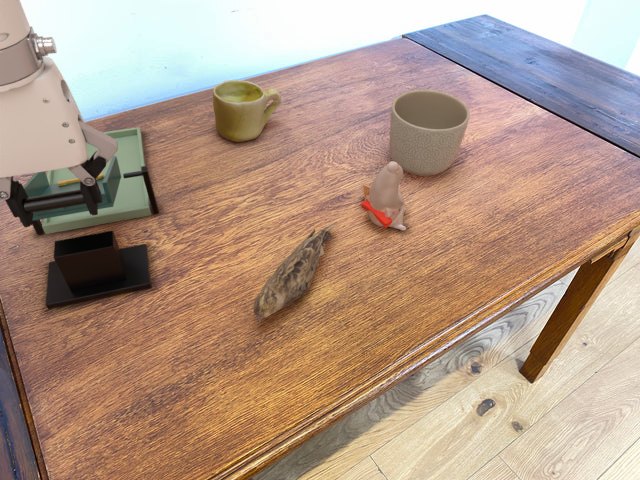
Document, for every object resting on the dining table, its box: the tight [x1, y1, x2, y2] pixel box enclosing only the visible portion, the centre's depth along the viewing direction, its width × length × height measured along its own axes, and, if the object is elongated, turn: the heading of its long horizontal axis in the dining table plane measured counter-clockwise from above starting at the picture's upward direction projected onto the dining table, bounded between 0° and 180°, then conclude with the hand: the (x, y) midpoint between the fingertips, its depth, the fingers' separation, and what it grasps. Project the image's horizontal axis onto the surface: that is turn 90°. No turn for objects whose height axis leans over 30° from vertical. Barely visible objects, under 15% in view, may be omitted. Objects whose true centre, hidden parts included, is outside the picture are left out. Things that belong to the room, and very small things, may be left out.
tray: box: [41, 126, 153, 235], centre depth 84 cm, size 23×15×2 cm, turn 18°
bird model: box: [253, 221, 338, 325], centre depth 69 cm, size 21×6×5 cm
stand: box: [31, 165, 160, 310], centre depth 70 cm, size 16×17×8 cm
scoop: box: [19, 156, 121, 224], centre depth 63 cm, size 19×10×4 cm, turn 15°
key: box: [58, 174, 104, 186], centre depth 71 cm, size 6×2×1 cm, turn 109°
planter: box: [389, 89, 471, 177], centre depth 86 cm, size 12×12×11 cm
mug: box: [212, 79, 282, 143], centre depth 93 cm, size 12×10×10 cm
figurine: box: [360, 160, 407, 231], centre depth 75 cm, size 9×7×12 cm
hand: (61, 211), depth 57 cm, fingers closed on scoop, 6 cm apart
